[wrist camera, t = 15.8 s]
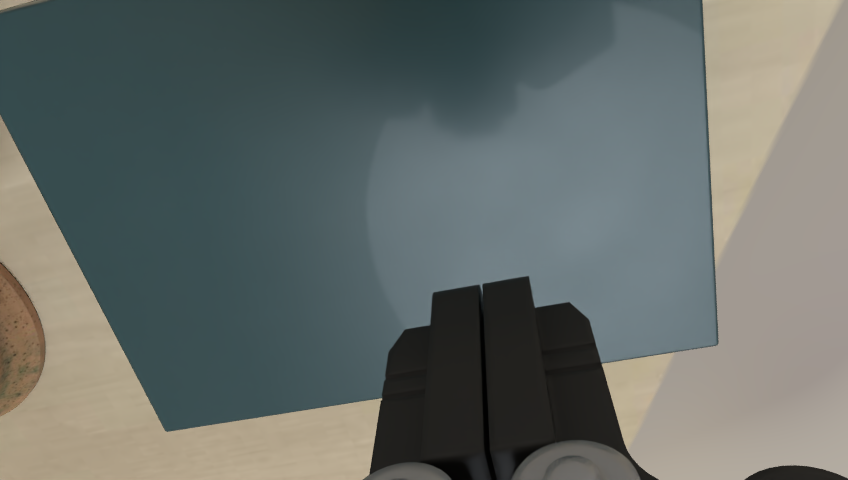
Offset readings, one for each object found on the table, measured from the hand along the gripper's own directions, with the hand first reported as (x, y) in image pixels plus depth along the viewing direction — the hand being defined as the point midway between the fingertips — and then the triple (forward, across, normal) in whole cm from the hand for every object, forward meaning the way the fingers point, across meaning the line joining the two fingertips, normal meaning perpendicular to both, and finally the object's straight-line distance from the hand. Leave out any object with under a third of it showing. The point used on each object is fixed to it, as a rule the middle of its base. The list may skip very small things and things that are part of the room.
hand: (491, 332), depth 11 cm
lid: (+7, +3, 0) cm, 7 cm away
